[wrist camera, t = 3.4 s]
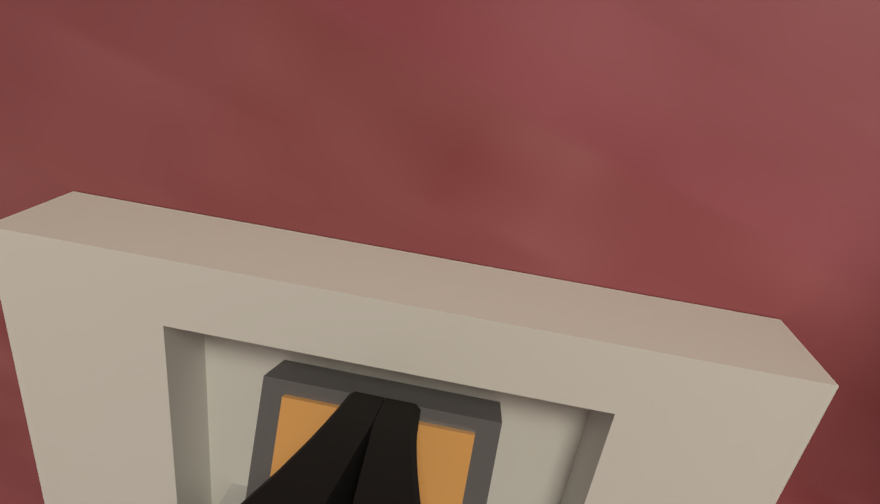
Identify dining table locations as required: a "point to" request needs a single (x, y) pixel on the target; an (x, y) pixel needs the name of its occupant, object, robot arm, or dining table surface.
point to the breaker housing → (377, 361)
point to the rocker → (442, 413)
